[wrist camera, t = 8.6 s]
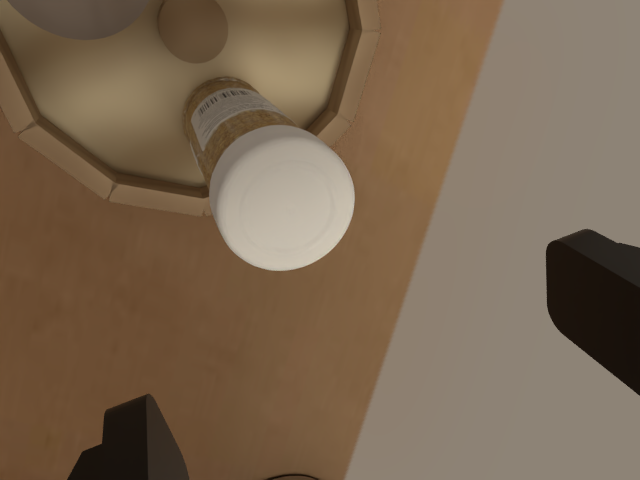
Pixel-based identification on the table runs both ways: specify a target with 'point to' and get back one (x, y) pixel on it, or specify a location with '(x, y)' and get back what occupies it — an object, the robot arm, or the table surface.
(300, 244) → the seasoning bottle
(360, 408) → the table surface
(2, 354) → the table surface
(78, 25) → the white jar
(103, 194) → the condiment caddy
